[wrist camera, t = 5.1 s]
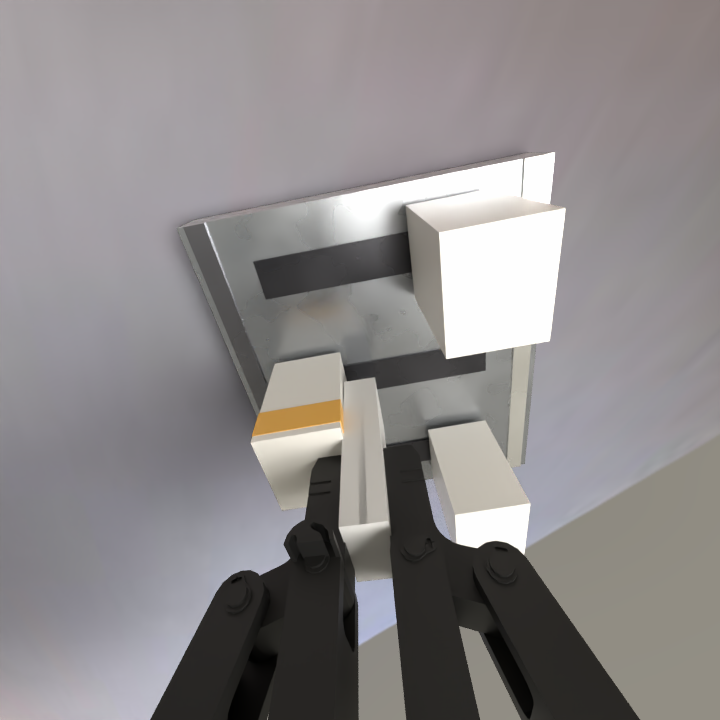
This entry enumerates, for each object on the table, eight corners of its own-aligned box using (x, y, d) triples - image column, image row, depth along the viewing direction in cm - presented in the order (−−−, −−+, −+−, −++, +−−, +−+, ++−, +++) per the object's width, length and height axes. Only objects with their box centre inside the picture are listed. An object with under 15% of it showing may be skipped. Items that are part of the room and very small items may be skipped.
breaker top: (414, 297, 15) (446, 359, 10) (405, 205, 13) (439, 232, 8) (486, 284, 14) (549, 340, 10) (488, 188, 13) (565, 208, 8)
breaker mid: (295, 423, 18) (281, 511, 13) (273, 363, 16) (249, 442, 11) (355, 413, 18) (360, 498, 13) (340, 351, 16) (340, 426, 11)
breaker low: (432, 476, 20) (457, 563, 16) (428, 429, 18) (454, 515, 14) (484, 467, 20) (524, 554, 16) (485, 420, 18) (530, 503, 14)
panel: (296, 474, 23) (292, 502, 21) (195, 219, 15) (175, 228, 13) (510, 439, 22) (525, 465, 20) (528, 152, 14) (556, 152, 12)
